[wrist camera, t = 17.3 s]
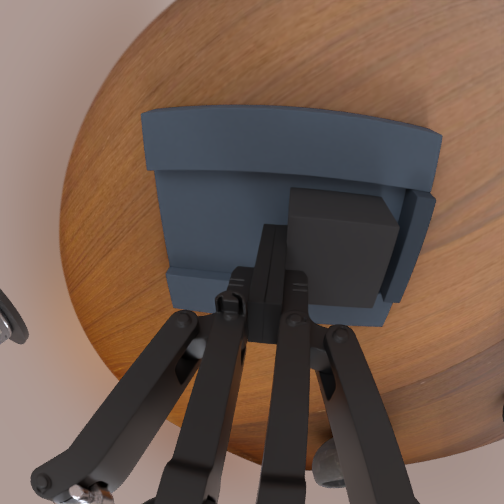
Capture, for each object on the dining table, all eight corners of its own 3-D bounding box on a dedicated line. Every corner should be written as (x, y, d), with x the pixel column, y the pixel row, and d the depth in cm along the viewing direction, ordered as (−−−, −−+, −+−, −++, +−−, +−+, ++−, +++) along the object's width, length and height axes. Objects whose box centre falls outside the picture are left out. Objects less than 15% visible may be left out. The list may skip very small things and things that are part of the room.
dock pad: (180, 292, 26) (169, 316, 23) (154, 109, 16) (132, 116, 14) (378, 310, 24) (384, 336, 21) (429, 128, 14) (450, 139, 12)
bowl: (301, 429, 41) (297, 482, 33) (388, 413, 36) (392, 469, 28) (326, 449, 48) (324, 490, 40) (395, 436, 42) (398, 479, 34)
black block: (284, 264, 21) (280, 302, 18) (290, 186, 17) (288, 215, 14) (363, 270, 20) (372, 309, 17) (382, 196, 17) (400, 227, 14)
